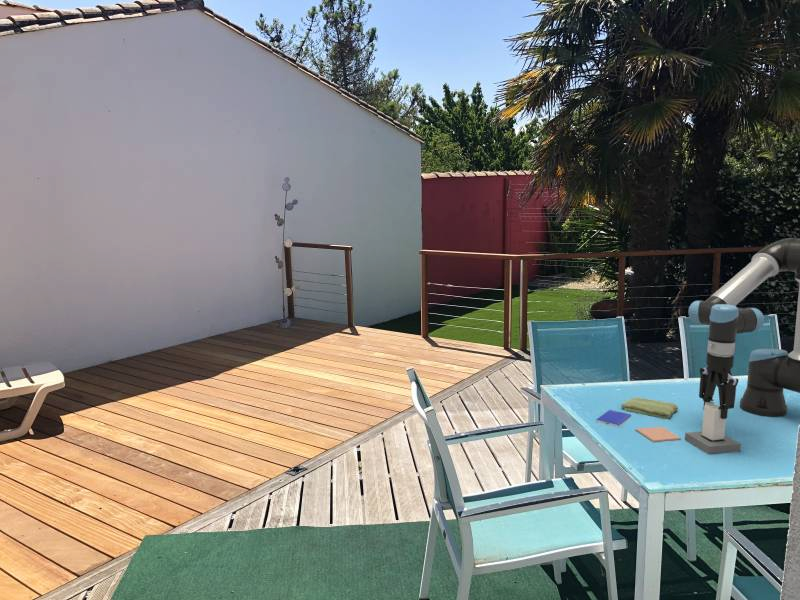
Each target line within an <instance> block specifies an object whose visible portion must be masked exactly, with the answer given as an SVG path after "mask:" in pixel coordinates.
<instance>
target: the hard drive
mask: <svg viewBox="0 0 800 600" xmlns="http://www.w3.org/2000/svg"><path fill="white" fill-rule="evenodd" d="M631 417H632V414H631V413H626V412H623V411H617V410H613V409H608V410H607V411H605V412H604V413H603V414H602V415H600V416H599V417H598V418H596V419H595V422H596V423H600V424H604V425H609V426H613V427H615V428H616V427H617V428H619V427H621V426H622V425H623V424H624V423H626V422H628V420H630V419H631Z"/></svg>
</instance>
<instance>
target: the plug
mask: <svg viewBox="0 0 800 600" xmlns="http://www.w3.org/2000/svg"><path fill="white" fill-rule="evenodd" d="M703 407H704V410H703V415H702V427H701V428H702V429H701V430H702V435H703V436H705V437H707V438H709V439H711V440H719V439H724V435H726V434H725V432H726V427H725V428H716V421H717V409H718V407H720V404H719V405H718V404H715V403H714V405H705V406H704V405H703ZM726 421H727V418H726V419H725V424H726Z"/></svg>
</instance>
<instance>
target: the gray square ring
mask: <svg viewBox="0 0 800 600" xmlns="http://www.w3.org/2000/svg"><path fill="white" fill-rule="evenodd" d="M684 441H686V442H688V443H689V444H691V445H693V446H694V447H696V448H697V449H699V450H700V451H703V452H704V453H706V454H707V455H715V454H724V453H725V454H727V453H734V452H735V453H736V452H741V449H742V444H741V443H740V442H738V441H736V440H734V439H733V438H731V437H730V436H727V435H726V434H724V439H719V440H711V439H709V438H707V437H705V436H703V435H702V431H701V430H700V431H689V432H685V435H684Z"/></svg>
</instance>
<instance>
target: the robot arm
mask: <svg viewBox="0 0 800 600" xmlns="http://www.w3.org/2000/svg"><path fill="white" fill-rule="evenodd" d="M780 272H793V273H794V280H795V281H796V282H798V286H799V287H798V298H797V307H796V309H797V311H796V319H795V330H794V331H795V332H794V340H793V341H794V343H793V350H792V351H791V352H789V353H788V351H787V350H785V349H779V348H778V349H777V348H758V349H754V350H752V351H751V353H750V355H749V359H748V371H747V372H748V373H747V381H746V383H747V384H746V387H745V388H746V389H745V390H744V392H743V395H742V397H741V398H740V400H739V408H740V409H742V410H743V411H745V412H748V413H750V414H754V415H759V416H764V417H784V416H786V415H787V413H788V406H787V403H786V399H785V394H784V389H785V390H787V391H791V392H795V393H798V394H800V238H799V237H789V238H787V237H786V238H783V239H780V240H777V241H774V242H772V243H770V244H768V245H767V246H764V247H763V248H762V249H760V250H759V251H758V252H756V253H755V254H754V255H753V256H752V257H751V261H750V262H749V263H748V264H747V265H746V266H745V267H743V268H742V269H741V270H740V271H739V272H737V273H736V274H735V275H734V276H733V277H732V278H730V279H729V280H728V281H727V282H726V283H724V285H722V286H721V287H720V288H719V289H718V290H715V292H714V293H712V294H711V295H710V296H709V297H708V298H707V299H706V300H695V301H693V302H691V303H690V306H689V307H688V317H689V319H690V320H691V321H692V322H694V323H697V324H700V325H706V326H709V329H708V339H707V353H706V359H705V363H706V365H707V367H702V368H701V367H700V368H699V373H700V377H699V390H698V397H699V398H700V399H702V401H703V407H702V409H703V411H704V406H705V405H714V404H715V402H714V399H713V398H714V394H715V391H716V388H718V398H719V406H720V407H718V409H717V421H716V428H725V429H726V423H725V419H726V420H727V419H728V413H729V412H728V411H729V410H730V409H735V403H736V392H737V385H738V384H739V379H738V378H734V377H733V376H732V372H731V370H732V369H733V367H734V362H735V361H734V359H735V357H734V356H733V355H735V350H736V349H735V347H736V338H737V334H744V333H753V332H755V331H759V330H760V329H761V328H762V327H763V326H764V323H765V317H764V314H763V312H762V311H761V310H760V309H758V308H756V307H744V308H743V307H737V305H738V304H739V303H741V301H743V300H744V299H745V298H746V297H747V296H748V295H750V293H752V292H753V291H754V290H756V289H757V287H759V286H760V285H761V284H762V283H763V282H765V281H766V280H767V279H769V277H775V276H776V275H777V274H779V273H780Z"/></svg>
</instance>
